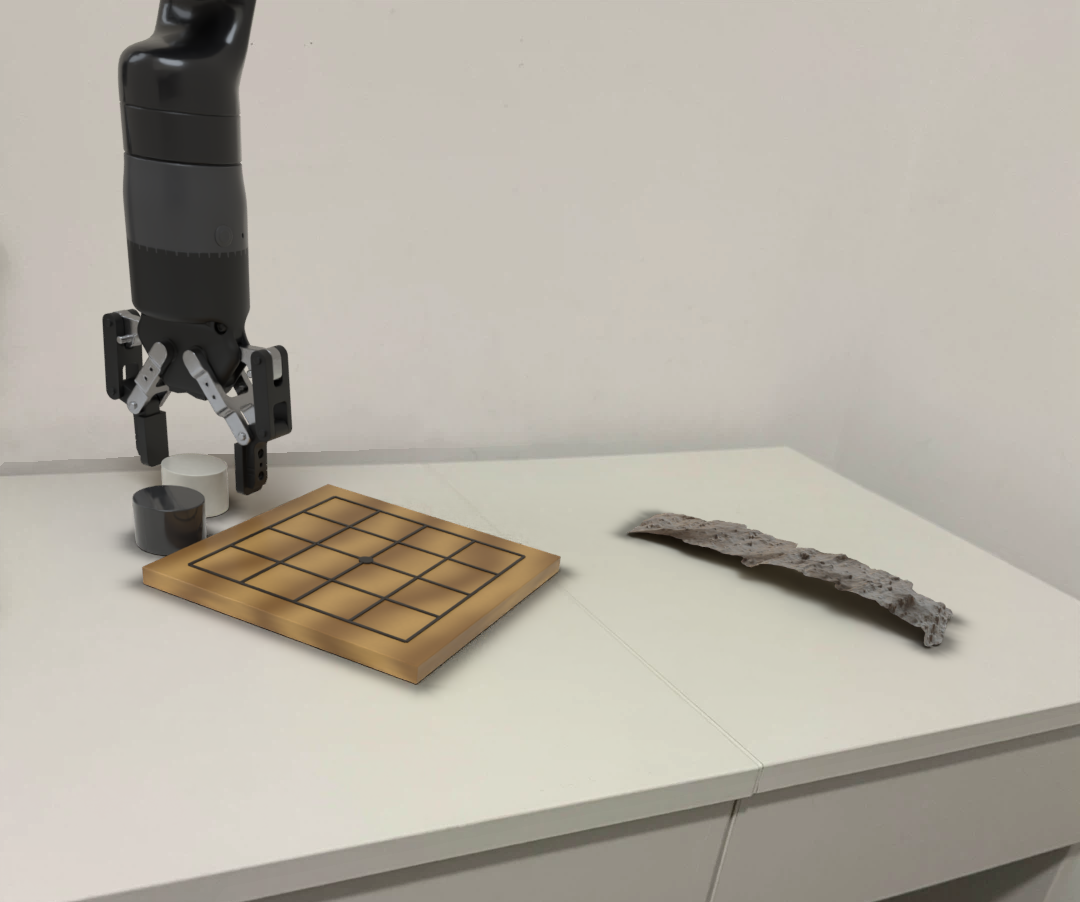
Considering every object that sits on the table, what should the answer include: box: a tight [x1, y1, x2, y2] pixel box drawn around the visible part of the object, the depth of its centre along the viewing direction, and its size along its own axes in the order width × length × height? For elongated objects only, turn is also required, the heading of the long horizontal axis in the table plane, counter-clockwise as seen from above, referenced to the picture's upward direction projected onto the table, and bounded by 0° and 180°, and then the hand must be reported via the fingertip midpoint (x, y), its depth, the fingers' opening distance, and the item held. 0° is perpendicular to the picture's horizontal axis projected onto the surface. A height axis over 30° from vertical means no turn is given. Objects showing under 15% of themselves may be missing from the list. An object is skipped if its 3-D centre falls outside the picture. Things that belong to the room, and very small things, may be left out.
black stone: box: [131, 484, 208, 556], centre depth 71 cm, size 5×5×3 cm
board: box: [141, 483, 562, 685], centre depth 71 cm, size 20×20×1 cm
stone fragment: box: [626, 512, 954, 648], centre depth 80 cm, size 25×3×10 cm
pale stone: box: [160, 452, 230, 518], centre depth 77 cm, size 5×5×3 cm
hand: (201, 477), depth 77 cm, fingers open, 8 cm apart
